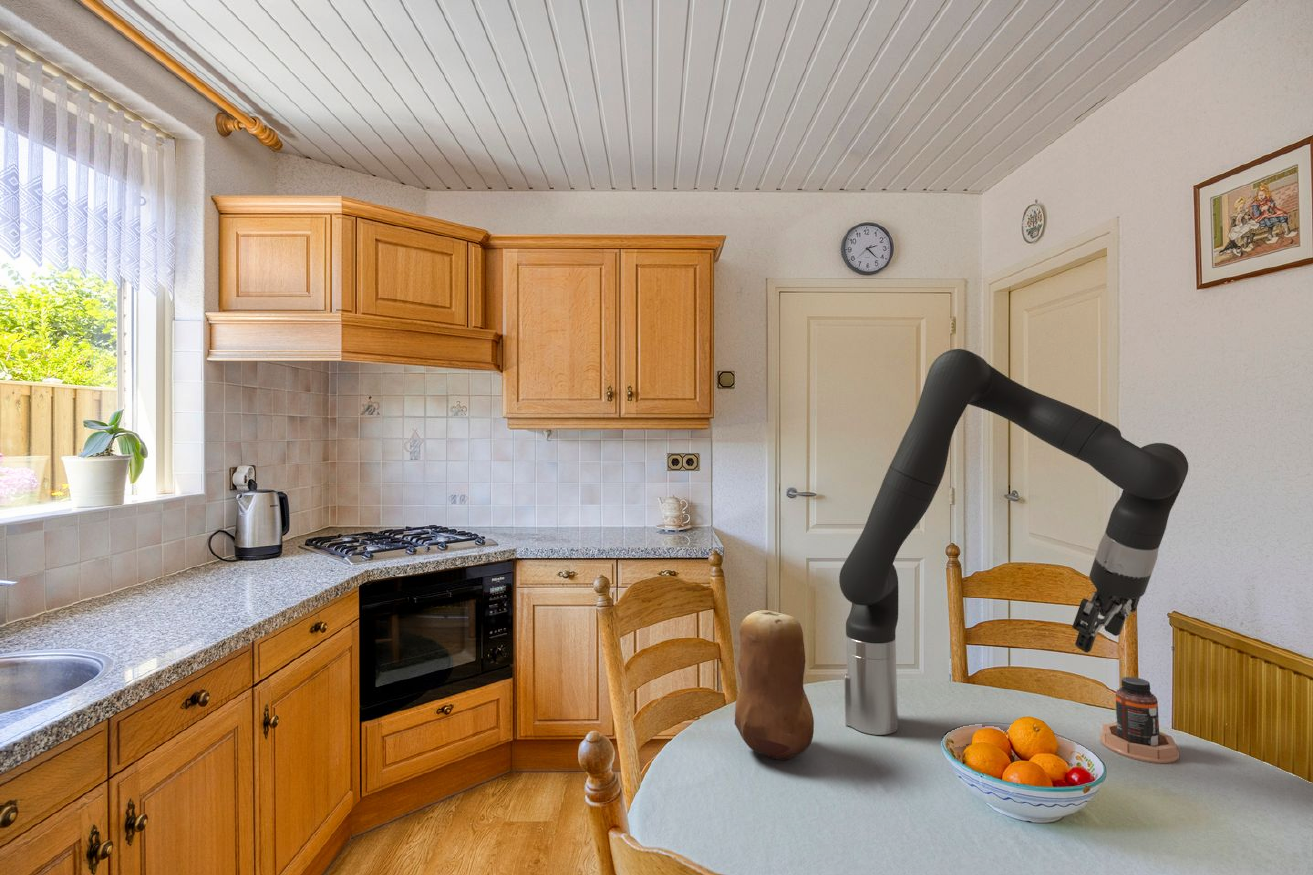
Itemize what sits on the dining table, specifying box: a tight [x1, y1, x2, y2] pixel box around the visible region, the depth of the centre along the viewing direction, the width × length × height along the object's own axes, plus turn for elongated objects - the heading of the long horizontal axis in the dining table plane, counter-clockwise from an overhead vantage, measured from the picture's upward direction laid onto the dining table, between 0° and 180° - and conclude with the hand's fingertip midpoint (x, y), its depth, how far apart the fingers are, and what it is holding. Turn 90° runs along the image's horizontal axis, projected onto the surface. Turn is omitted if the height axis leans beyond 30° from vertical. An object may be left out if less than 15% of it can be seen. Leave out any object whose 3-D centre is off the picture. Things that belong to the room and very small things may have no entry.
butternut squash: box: [734, 609, 815, 761], centre depth 109 cm, size 14×13×25 cm
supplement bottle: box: [1115, 676, 1160, 747], centre depth 108 cm, size 6×6×11 cm
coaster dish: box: [1099, 721, 1180, 764], centre depth 108 cm, size 11×11×2 cm
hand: (1097, 640), depth 105 cm, fingers open, 8 cm apart
